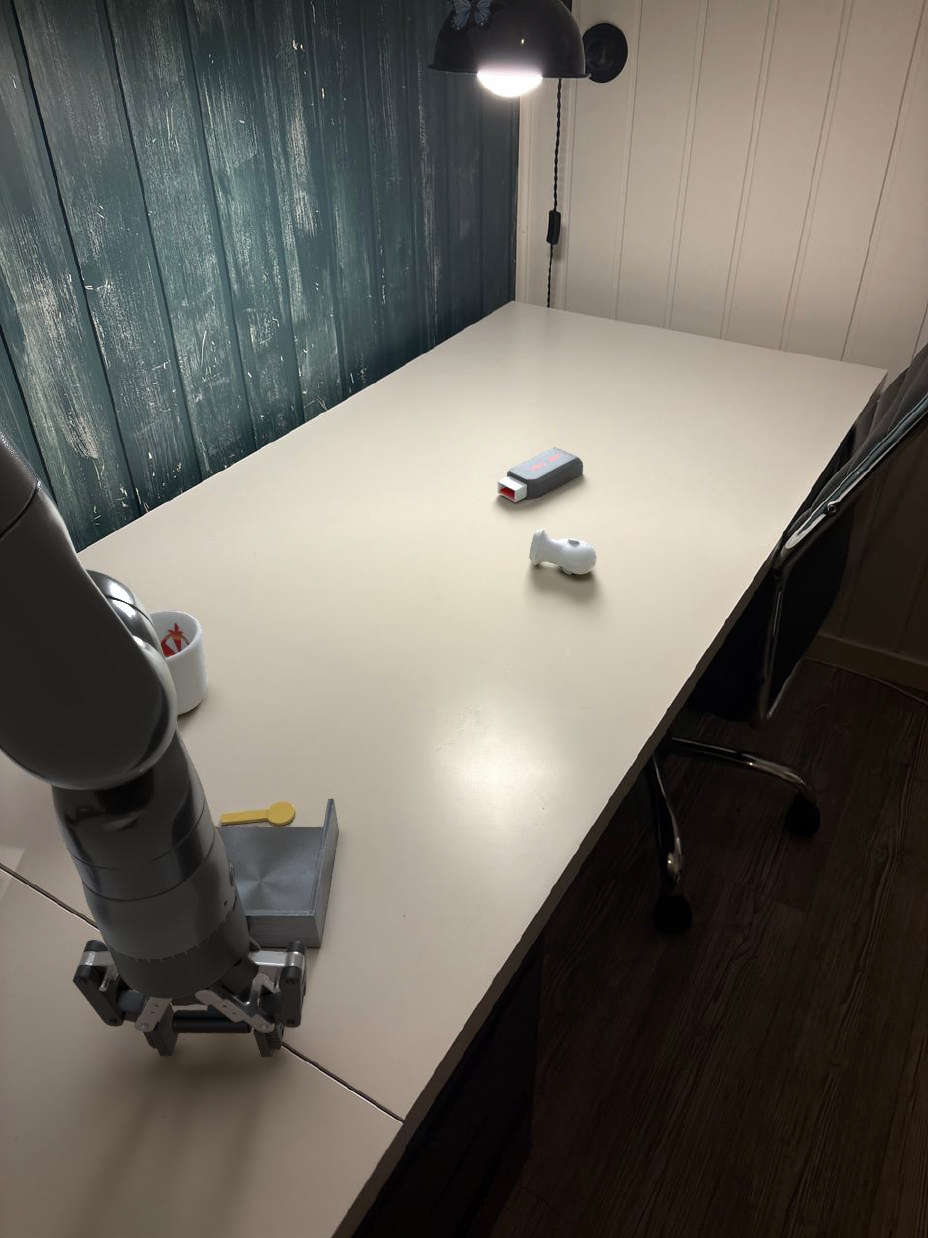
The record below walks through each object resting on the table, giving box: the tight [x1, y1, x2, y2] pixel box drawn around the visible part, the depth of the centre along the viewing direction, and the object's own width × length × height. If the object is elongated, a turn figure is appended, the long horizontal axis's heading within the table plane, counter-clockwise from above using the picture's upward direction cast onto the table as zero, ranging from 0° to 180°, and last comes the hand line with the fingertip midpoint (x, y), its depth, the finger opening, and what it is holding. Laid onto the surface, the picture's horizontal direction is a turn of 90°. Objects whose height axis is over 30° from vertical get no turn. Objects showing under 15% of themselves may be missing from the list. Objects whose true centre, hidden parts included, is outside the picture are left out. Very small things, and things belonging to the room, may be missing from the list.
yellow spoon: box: [220, 801, 296, 827], centre depth 78 cm, size 6×2×1 cm, turn 96°
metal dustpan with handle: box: [172, 798, 340, 1035], centre depth 68 cm, size 11×20×5 cm, turn 179°
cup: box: [149, 609, 209, 716], centre depth 88 cm, size 11×8×8 cm
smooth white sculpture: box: [528, 528, 597, 575], centre depth 106 cm, size 4×8×5 cm
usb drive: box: [497, 447, 584, 503], centre depth 121 cm, size 5×12×3 cm, turn 133°
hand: (220, 1042), depth 61 cm, fingers open, 6 cm apart
